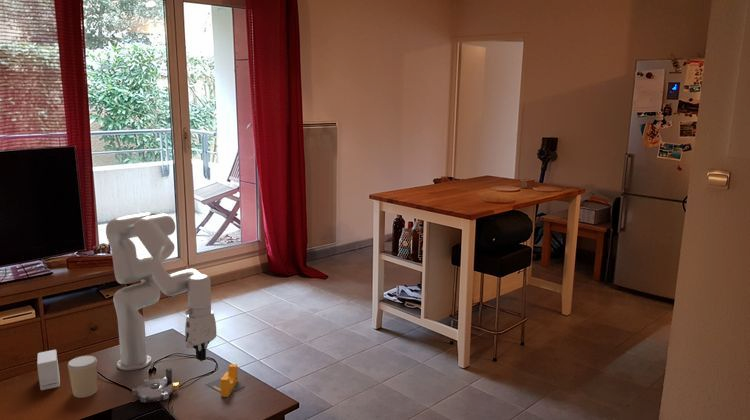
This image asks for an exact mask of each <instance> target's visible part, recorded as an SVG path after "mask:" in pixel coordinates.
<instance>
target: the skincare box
mask: <svg viewBox="0 0 750 420" xmlns="http://www.w3.org/2000/svg"><path fill="white" fill-rule="evenodd" d="M57 352H58V351H57V349H52V350H45V351H40V352H38V353H37V361H36V363H37V364H36V365H37V375H38V376H37V377H38V381H39V382H38V383H39V388H40V391H44V390H45V391H46V390H49V389H54V388H59V387H61V379H60V378H61V377H60V369H59V361H58V353H57Z"/></svg>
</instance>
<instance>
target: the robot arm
mask: <svg viewBox="0 0 750 420" xmlns="http://www.w3.org/2000/svg"><path fill="white" fill-rule="evenodd" d="M175 231H176V223H175V221H174V219H173V218H172V216H170V215H169V214H167V213H162V212H161V213H160V212H152V211H151V212H150V211H149V212H142V213H136V214H129V215H123V216H119V217H115V218H112V219H111V220H109V221H108V222H107V224H106V227H105V233H106V234H105V235H106V238H107V239H106V240H107V241H108V243H109V247H110V250H111V256H112V258H111V259H112V263H113V265H112V266H113V272H114V277H115V280H116V282H117V283H118V284H120V285H126V284H127V285H128V284H131V285H129V286H124V287H122V288H120V289H118V290H116V292H115V293H114V294H113V298H112V300H113V305H114V308H115V311H116V313H115V314H116V317H117V324H118V325H117V329H118V340H119V351H118V354H120V359H119V360H118V361H117V362H116V367H117V369H119V370H122V371H135V370H136V371H137V370H140V369H141V370H142V369H143V368H145V367H148V365H150V364H151V363H152V356H150V355H149V354H148V353H147V351H148V350H147V338H146V337H147V336H146V334H147V333H146V323H145V318H144V316H143V315H142V314H141V313H140V311H139V310H140V309H143V308H145V307H149V306H151V305H154V304H156V303H158V302H159V300H160V298H161V293H162V294H164V295H165V296H168V297H174V296H177V295H181V294H183V293H187V300H188V301H187V310H185V315H187V316H186V319H185V321H186V322H185V329H184V330H185V331H184V339H185V342H186V345H185V347H186V348H188V349H195V358H196V360H198V361H200V362H203V361H205V360H206V359H207V357H206V356H207V349H208V346H209V344H210V342H212V341H214V340H215V339H216V338H217V324H216V317H215V314H214V311H213V310H212V293H211V292H212V290H211V277H210V276H209V275H208V274H205V273H201V272H200V271H199V270H198V269H196V268H188V269H187V268H186V269H183V270H179V271H175V272H172V273H168V271H167V270H166V269H165V268H164V266H163V262H164V261H166V259H168V258H169V257H170V256H171V255H172V254H173V252H174V251H175V246H176V245H175V243H173V241H172V240H171V238H170V237H169V236H171V235H173V234H174V233H175ZM132 238H138V239H139V240H140V242H141V244H142V245H143V246H144V248H145V249H146V250H147V252H148V253H149V254H140V255H137V249H136V245H135V242H134V241H132ZM140 281H141V282H140ZM136 282H140V283H136ZM132 283H136V284H132Z"/></svg>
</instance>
